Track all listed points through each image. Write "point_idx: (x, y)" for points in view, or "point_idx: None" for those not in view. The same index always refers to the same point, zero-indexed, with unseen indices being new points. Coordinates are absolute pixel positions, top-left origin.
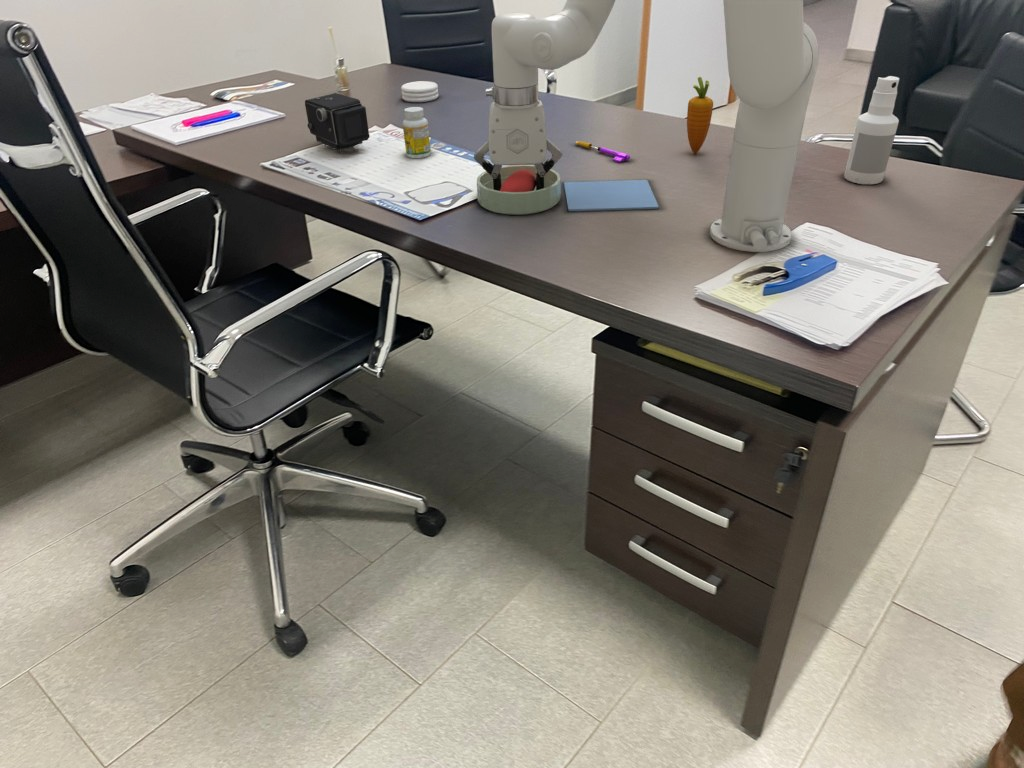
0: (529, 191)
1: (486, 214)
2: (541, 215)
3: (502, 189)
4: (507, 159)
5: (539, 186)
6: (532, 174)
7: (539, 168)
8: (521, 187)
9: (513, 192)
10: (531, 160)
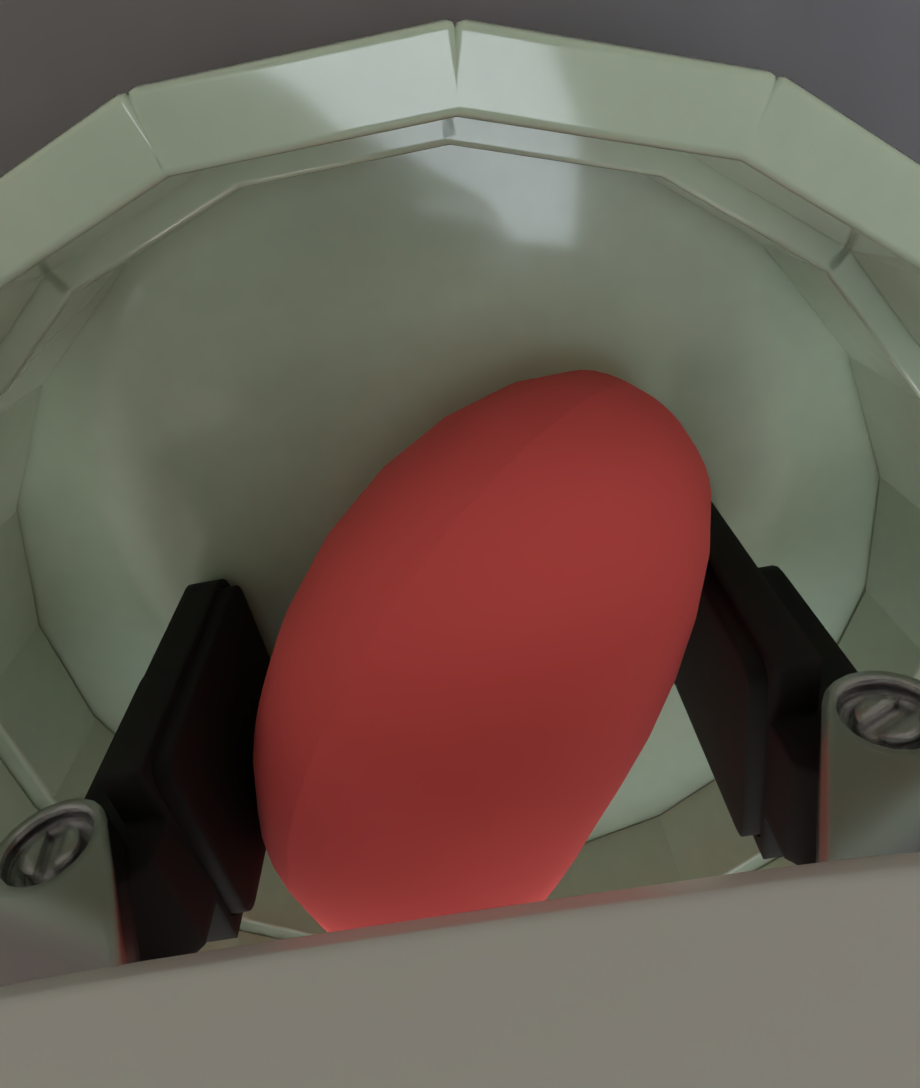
0: (75, 212)
1: (840, 55)
2: (11, 111)
3: (681, 478)
4: (775, 1030)
5: (152, 676)
6: (287, 880)
7: (54, 932)
8: (372, 547)
9: (428, 106)
10: (31, 1074)
